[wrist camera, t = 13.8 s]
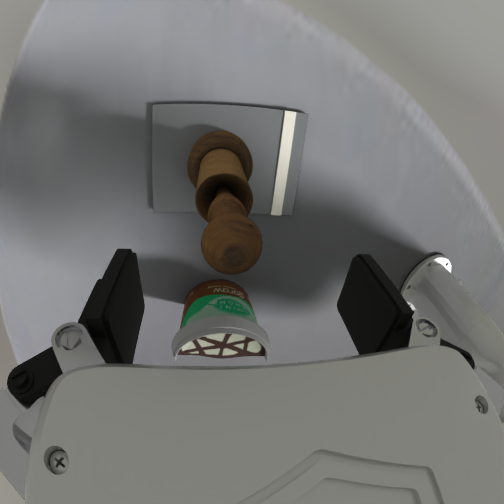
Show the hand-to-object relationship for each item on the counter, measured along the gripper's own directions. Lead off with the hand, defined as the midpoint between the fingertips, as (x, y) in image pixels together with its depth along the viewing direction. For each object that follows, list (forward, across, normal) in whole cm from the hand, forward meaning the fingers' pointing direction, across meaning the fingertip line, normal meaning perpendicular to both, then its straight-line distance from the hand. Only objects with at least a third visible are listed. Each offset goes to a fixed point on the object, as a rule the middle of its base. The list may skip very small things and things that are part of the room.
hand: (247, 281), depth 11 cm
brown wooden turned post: (+20, +1, 0) cm, 20 cm away
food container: (+21, 0, +18) cm, 27 cm away
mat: (+20, 0, 0) cm, 20 cm away
